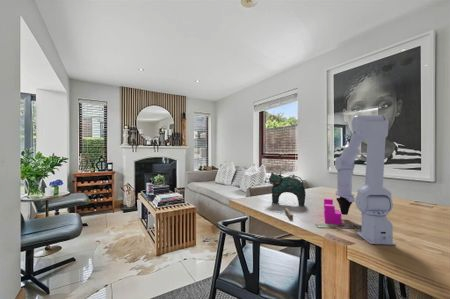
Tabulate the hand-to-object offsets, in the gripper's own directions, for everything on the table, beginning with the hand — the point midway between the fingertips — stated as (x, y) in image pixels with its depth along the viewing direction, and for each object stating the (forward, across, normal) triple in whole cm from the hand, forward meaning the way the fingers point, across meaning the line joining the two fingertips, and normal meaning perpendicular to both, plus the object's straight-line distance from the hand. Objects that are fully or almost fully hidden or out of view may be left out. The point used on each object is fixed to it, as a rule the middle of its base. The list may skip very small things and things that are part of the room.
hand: (344, 214), depth 100 cm
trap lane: (+2, -3, +10) cm, 11 cm away
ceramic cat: (+2, +25, +21) cm, 33 cm away
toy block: (+2, 0, +6) cm, 6 cm away
